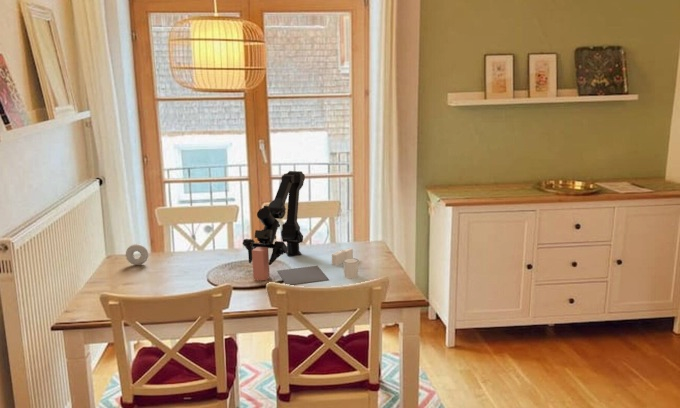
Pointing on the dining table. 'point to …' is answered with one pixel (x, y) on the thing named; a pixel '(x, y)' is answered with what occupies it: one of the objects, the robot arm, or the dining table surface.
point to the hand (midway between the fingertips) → (259, 263)
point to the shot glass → (351, 268)
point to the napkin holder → (341, 256)
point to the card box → (260, 263)
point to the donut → (133, 259)
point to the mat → (302, 275)
